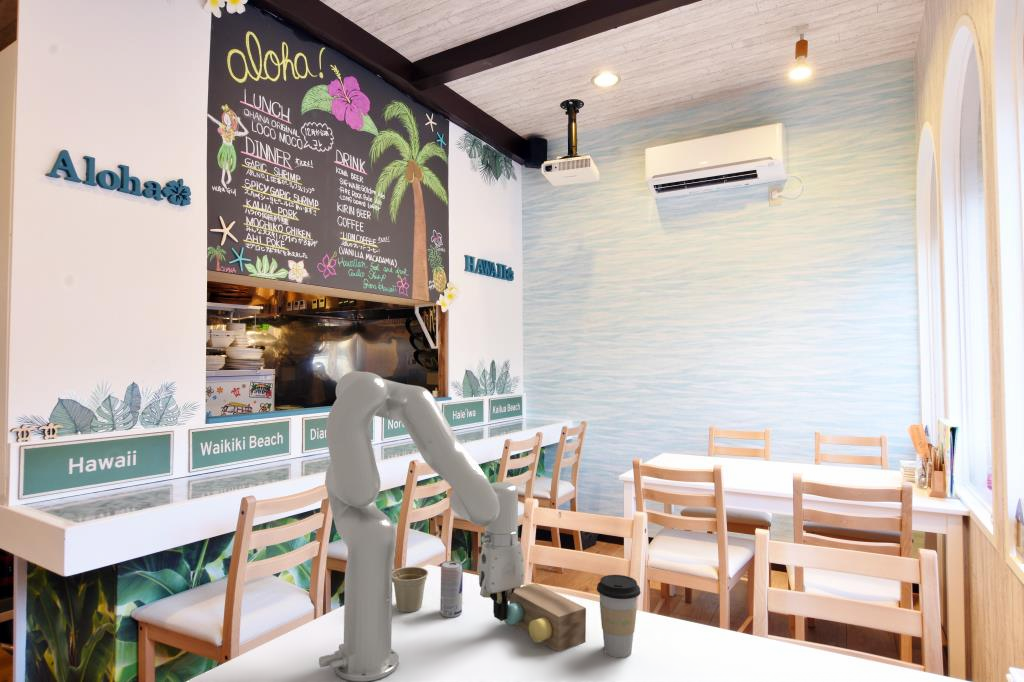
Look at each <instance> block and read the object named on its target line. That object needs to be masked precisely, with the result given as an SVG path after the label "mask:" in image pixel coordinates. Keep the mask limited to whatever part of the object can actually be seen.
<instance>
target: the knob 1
mask: <svg viewBox="0 0 1024 682" xmlns="http://www.w3.org/2000/svg"><path fill="white" fill-rule="evenodd" d="M523 617H524V614H523V608H522V607H521V605H520V604H519V603H517V602H515V603H512V604H509V603H508V616H507V619H506V620H503V622H504V623H505V624H506V625H507V626H513V625H514V624H516V623H520V622H522V620H523Z"/></svg>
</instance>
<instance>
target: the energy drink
mask: <svg viewBox="0 0 1024 682" xmlns="http://www.w3.org/2000/svg"><path fill="white" fill-rule="evenodd" d="M463 570H464V568H463V563H462V562H460V561H455V560H448V561H445V562H443V563H442V564H441V567H440V607H439V608H440V609H439V610H440V615H441V616H442V617H444V618H450V619H451V618H458V617H459V616H461V614H462V613H463V579H464V578H463V577H464V576H463V574H464V572H463Z"/></svg>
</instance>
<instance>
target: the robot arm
mask: <svg viewBox="0 0 1024 682" xmlns="http://www.w3.org/2000/svg"><path fill="white" fill-rule="evenodd" d="M335 396H336V399H335V401H334V403H333V404H332V406H331V408H330V410H329V413H328V416H327V420H326V425H325V426H326V427H325V432H326V433H325V435H326V442H327V447H328V452H329V460H330V463H329V464H328V466H327V468H326V472H325V480H324V481H325V487H326V488H325V489H326V492H327V497H328V501H329V506H330V509H331V514H332V518H333V522H334V525H335V529H336V532H337V534H338V536H339V538H340V539H341V541H343V543H344V544H345V545H346V548H347V558H346V565H345V571H344V604H343V605H344V611H343V612H344V613H343V643H341V644H338V650H335V651H334V653H332V654H327V655H323V656H320V657H318V664H319V665H318V666H319V668H321V669H322V668H325V667H328V666H329V668H330V670H331V671H332V670H335V674H336V675H337V676H339V677H340V678H342V679H343V680H347V681H350V682H370V681H371V682H372V681H376V680H379V679H383V678H385V677H387V676H388V675H390V674H392V673H393V672H394V671H396V669H397V668H398V666H399V663H400V662H399V659H400V658H399V654H398V653H397V652H396V651H395V650H394V649H392V635H393V634H392V633H393V631H392V630H393V629H392V628H393V622H392V621H393V619H392V618H393V617H392V616H393V580H392V574H393V571H394V559H395V553H396V546H397V530H396V528H395V525H394V523H393V521H392V519H390V517H389V516H388V515H387V514H385V512H383V511H382V510H381V509H379V508H378V506H377V503H376V500H377V498H378V496H379V494H380V491H381V477H380V476H381V475H380V473H379V469H378V465H377V462H376V457H375V454H374V453H375V452H374V447H373V445H372V444H373V442H372V438H371V437H372V436H371V426H372V421H373V419H374V417H379V418H384V419H389V420H393V421H397V422H401V423H402V425H403V427H404V428H405V430H406V432H407V433H408V435H409V436H410V438H411V440H412V442H413V443H414V445H415V447H416V448H417V450H418V452H419V454H420V455H421V457H422V459H423V460H424V462H425V463H426V464H427V465H428V466H429V468H430V469H431V470H433V472H435V473H436V474H437V475H439V476H440V477H441V478H442V479H443V480H444V482H446V483H447V484H448V485H449V486H450V488H451V489H452V491H451V493H450V494H449V498H448V499H449V501H448V502H449V503H448V504H449V506H450V508H451V510H452V511H453V512H454V513H455V514H456V515H457V516H459V517H461V518H462V519H464V520H466V521H468V522H470V523H471V524H473V525H475V526H477V527H484V535H483V536H481V538H480V541H481V543H483V544H482V548H481V553H480V558H479V567H478V568H479V571H478V584H479V587H480V592H479V596H481V597H483V598H490V599H491V600H492V601H493V608H492V609H493V611H492V612H493V617H494V618H495V619H497V620H498V621H500V622H504V620H506V619H507V616H508V604H509V601H510V598H511V595H512V593H513V592H514V590H516V589H518V588H520V587H522V585H523V584H524V583H525V562H524V561H525V560H524V555H523V549H522V544H521V541H519V540H518V535H519V531H518V530H519V527H518V525H519V524H518V523H519V521H518V520H519V518H518V516H519V491H518V486H517V485H516V484H514V483H512V482H508V481H495V482H492V483H491V482H490V481H489V479H488V477H487V476H486V474H485V472H484V471H483V469H482V468H481V467H480V466H479V464H478V463H477V462H476V461H475V460H474V458H473V457H472V456H471V455H470V453H469V452H468V451H467V449H466V448H465V447H464V446H463V444H462V443H461V442H460V440H459V439H458V437H457V435H456V433H455V432H454V430H453V428H452V426H451V425H450V424H449V422H448V420H447V419H446V416H445V414H444V413H443V411H442V409H441V408H440V405H439V404H438V402H437V401H436V399H435V396H434V395H433V394H432V393H431V391H429V390H428V389H427V388H425V387H423V386H419V385H413V384H405V383H401V382H397V381H393V380H389V379H385V378H382V377H381V376H380V375H378V374H376V373H374V372H369V371H359V370H357V371H355V370H354V371H350V372H347V373H345V374H344V375H342V377H340V378H339V380H338V381H337V383H336V386H335Z"/></svg>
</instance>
